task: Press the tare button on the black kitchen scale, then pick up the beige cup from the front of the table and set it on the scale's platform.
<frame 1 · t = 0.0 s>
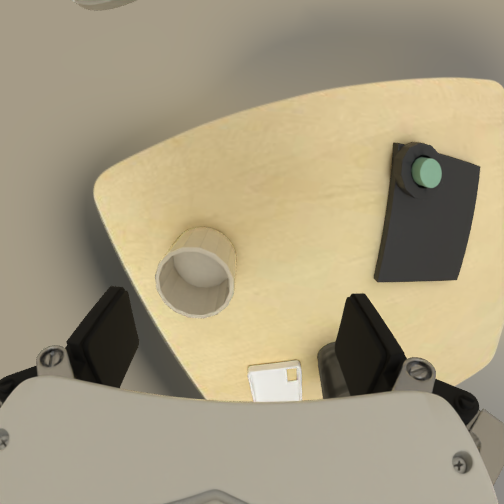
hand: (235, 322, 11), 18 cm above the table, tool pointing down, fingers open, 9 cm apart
phone case: (277, 393, 38), on the table
scale: (431, 218, 28), on the table
beige cup: (203, 258, 30), on the table
beverage cup: (332, 353, 35), on the table
tare button: (426, 172, 23), point 3 cm above the table, slide at 0.1 cm
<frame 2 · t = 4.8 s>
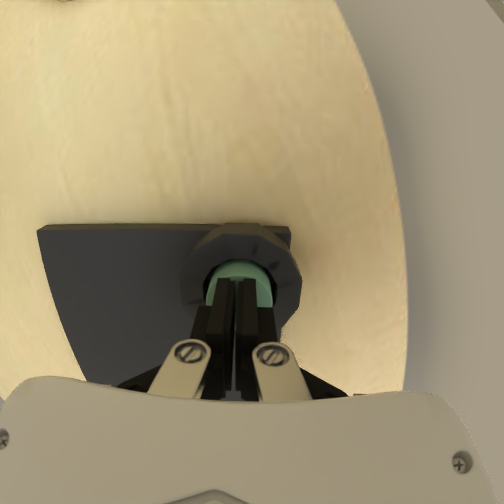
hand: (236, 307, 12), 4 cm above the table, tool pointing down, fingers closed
scale: (159, 324, 17), on the table
tare button: (239, 294, 13), point 3 cm above the table, slide at -0.3 cm, touching gripper
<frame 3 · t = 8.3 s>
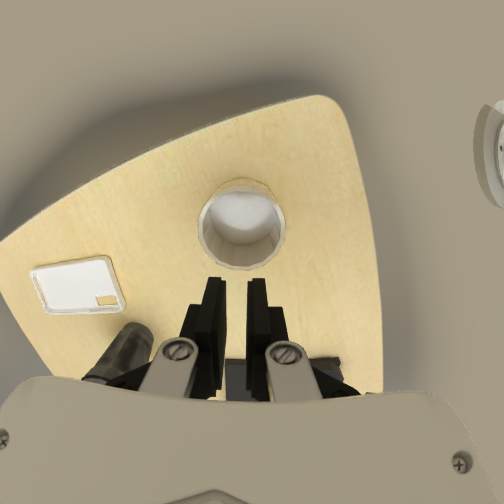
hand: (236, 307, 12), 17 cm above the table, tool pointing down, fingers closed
phone case: (75, 285, 31), on the table
scale: (278, 390, 38), on the table
beige cup: (242, 213, 28), on the table
beverage cup: (138, 334, 34), on the table
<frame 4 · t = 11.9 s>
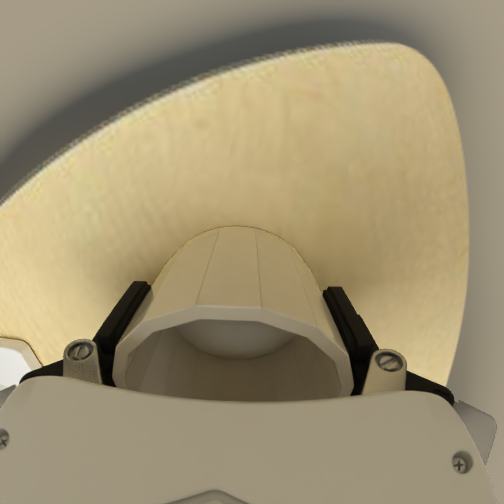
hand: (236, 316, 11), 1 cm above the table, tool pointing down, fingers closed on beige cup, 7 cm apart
phone case: (6, 364, 16), on the table
beige cup: (237, 300, 13), on the table, touching gripper
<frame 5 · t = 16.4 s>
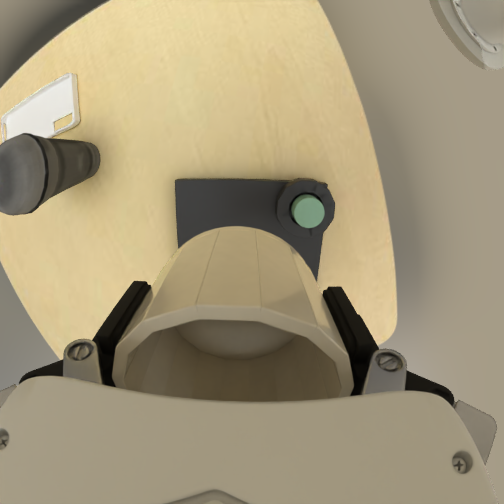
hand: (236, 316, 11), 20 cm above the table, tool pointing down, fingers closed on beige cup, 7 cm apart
phone case: (38, 118, 24), on the table
scale: (249, 241, 31), on the table
beige cup: (237, 300, 13), point 18 cm above the table, touching gripper
beverage cup: (86, 160, 27), on the table
tare button: (307, 210, 26), point 3 cm above the table, slide at 0.1 cm
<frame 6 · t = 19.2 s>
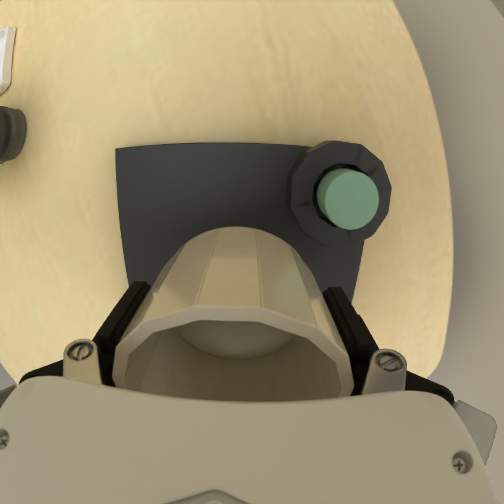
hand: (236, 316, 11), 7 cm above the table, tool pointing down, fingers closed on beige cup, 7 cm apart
scale: (241, 250, 18), on the table
beige cup: (237, 301, 13), point 6 cm above the table, touching gripper
beverage cup: (12, 134, 14), on the table
tare button: (347, 197, 14), point 3 cm above the table, slide at 0.1 cm
when the fingers open (2 cm above the table, at t = 21.2 s): beige cup stays where it is, resting on scale.
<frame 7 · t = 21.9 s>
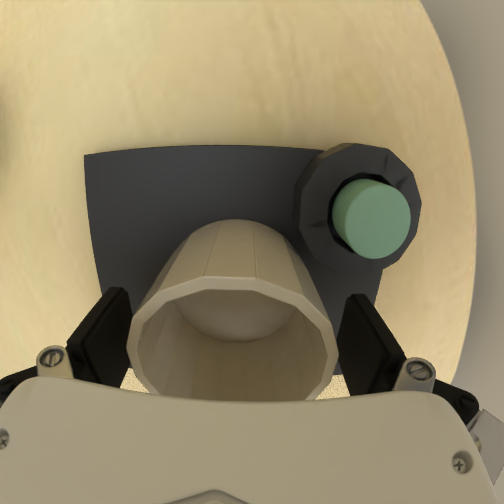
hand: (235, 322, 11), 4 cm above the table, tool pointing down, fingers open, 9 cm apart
scale: (237, 276, 15), on the table
beige cup: (236, 287, 14), point 1 cm above the table, touching scale
tare button: (371, 217, 10), point 3 cm above the table, slide at 0.1 cm
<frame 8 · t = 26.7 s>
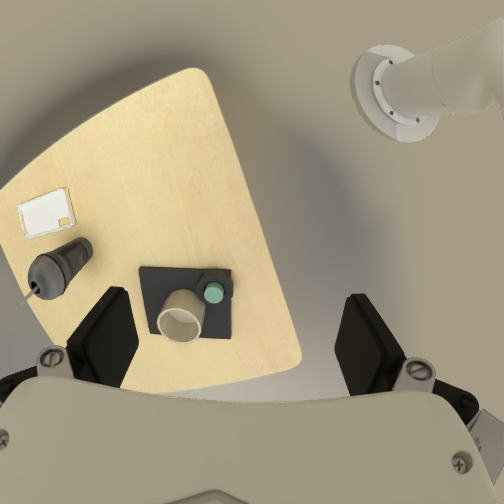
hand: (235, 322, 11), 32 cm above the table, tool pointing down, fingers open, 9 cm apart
phone case: (46, 213, 41), on the table
scale: (186, 303, 48), on the table
beige cup: (185, 306, 47), point 1 cm above the table, touching scale
beverage cup: (83, 248, 44), on the table
tare button: (214, 292, 43), point 3 cm above the table, slide at 0.1 cm
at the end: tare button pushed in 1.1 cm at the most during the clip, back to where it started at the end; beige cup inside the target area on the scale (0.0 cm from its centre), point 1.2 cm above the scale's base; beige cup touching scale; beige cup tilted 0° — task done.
